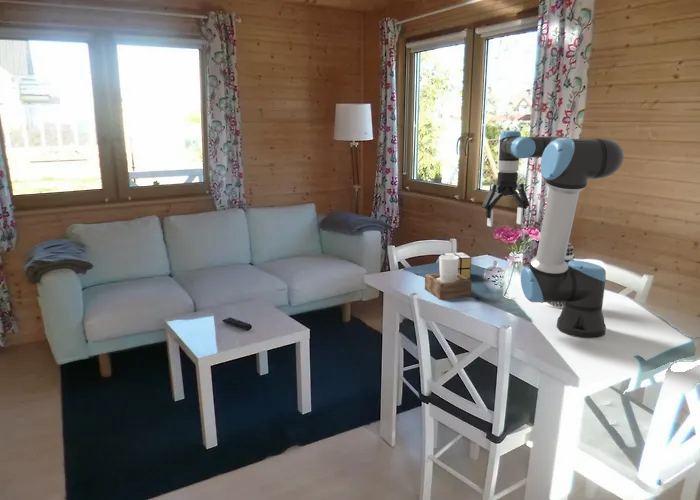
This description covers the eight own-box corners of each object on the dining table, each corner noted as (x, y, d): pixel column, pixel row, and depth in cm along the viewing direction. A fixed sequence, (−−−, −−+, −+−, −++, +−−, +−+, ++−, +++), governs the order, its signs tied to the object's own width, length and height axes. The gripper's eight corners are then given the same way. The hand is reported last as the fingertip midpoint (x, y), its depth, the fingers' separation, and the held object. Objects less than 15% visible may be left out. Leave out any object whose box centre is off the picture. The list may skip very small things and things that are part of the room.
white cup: (457, 283, 209) (458, 259, 207) (438, 282, 211) (438, 259, 209) (457, 278, 217) (458, 255, 215) (438, 277, 218) (439, 254, 216)
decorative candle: (575, 306, 198) (582, 242, 192) (558, 310, 194) (564, 245, 188) (556, 299, 206) (561, 238, 200) (539, 303, 202) (544, 240, 196)
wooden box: (470, 295, 211) (471, 280, 209) (439, 299, 207) (440, 283, 205) (454, 285, 224) (454, 271, 222) (424, 289, 220) (425, 274, 218)
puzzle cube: (441, 274, 242) (442, 253, 240) (462, 272, 244) (463, 252, 241) (449, 280, 232) (450, 258, 230) (470, 278, 234) (471, 257, 232)
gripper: (529, 169, 209) (525, 221, 214) (474, 171, 202) (472, 225, 207) (541, 171, 202) (537, 224, 207) (485, 173, 195) (482, 228, 200)
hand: (504, 225), depth 207 cm, fingers open, 13 cm apart
